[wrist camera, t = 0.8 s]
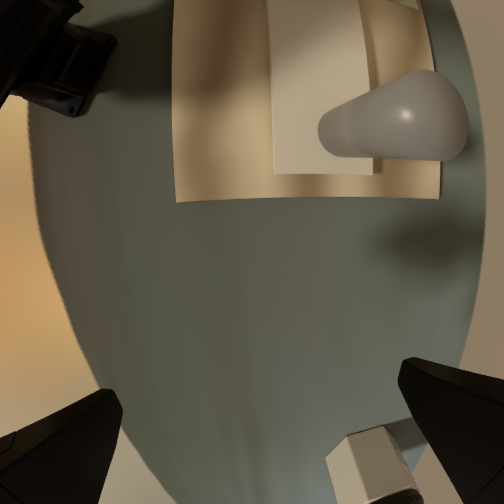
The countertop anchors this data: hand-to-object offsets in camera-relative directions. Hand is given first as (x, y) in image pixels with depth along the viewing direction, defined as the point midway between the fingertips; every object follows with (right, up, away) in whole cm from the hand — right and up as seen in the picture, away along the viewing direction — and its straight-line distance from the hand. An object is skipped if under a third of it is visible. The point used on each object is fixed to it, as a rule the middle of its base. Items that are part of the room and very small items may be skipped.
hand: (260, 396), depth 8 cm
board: (+4, +20, +8) cm, 22 cm away
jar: (+13, -19, +20) cm, 31 cm away
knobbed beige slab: (+4, +19, +7) cm, 20 cm away
